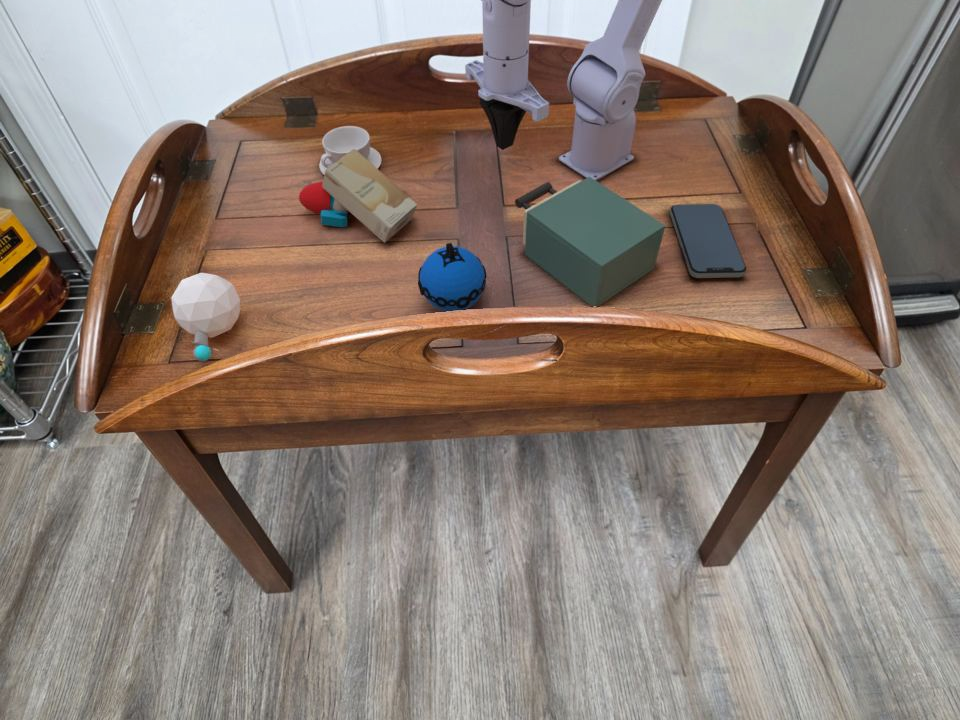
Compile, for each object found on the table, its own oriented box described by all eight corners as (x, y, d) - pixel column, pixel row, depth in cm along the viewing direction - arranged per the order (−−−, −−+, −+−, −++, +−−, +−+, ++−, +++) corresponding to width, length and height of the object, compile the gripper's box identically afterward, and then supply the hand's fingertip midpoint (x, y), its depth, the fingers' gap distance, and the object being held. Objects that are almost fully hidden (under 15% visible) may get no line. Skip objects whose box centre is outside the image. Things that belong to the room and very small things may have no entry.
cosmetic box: (391, 228, 89) (323, 170, 89) (385, 244, 93) (319, 188, 92) (419, 202, 92) (354, 145, 92) (412, 219, 96) (349, 164, 96)
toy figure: (400, 198, 102) (301, 193, 99) (402, 173, 98) (299, 167, 95) (401, 233, 97) (298, 228, 95) (403, 208, 93) (296, 203, 91)
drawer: (502, 228, 93) (502, 195, 88) (555, 198, 97) (558, 165, 92) (585, 292, 85) (590, 259, 80) (639, 257, 89) (647, 223, 84)
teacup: (355, 139, 109) (350, 114, 106) (394, 163, 105) (390, 137, 101) (307, 166, 105) (300, 140, 101) (345, 191, 100) (340, 166, 97)
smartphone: (720, 202, 95) (749, 270, 85) (717, 211, 96) (745, 280, 87) (669, 203, 95) (692, 272, 85) (666, 212, 96) (689, 281, 87)
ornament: (496, 315, 84) (496, 258, 76) (433, 334, 82) (426, 277, 74) (473, 272, 89) (471, 214, 81) (413, 289, 87) (405, 231, 79)
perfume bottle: (254, 276, 84) (254, 354, 78) (214, 306, 87) (211, 382, 81) (199, 249, 78) (195, 330, 72) (160, 282, 82) (152, 362, 75)
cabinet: (524, 254, 91) (526, 211, 85) (583, 219, 95) (589, 176, 89) (594, 309, 84) (601, 266, 78) (654, 268, 89) (665, 225, 83)
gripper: (445, 38, 83) (451, 133, 93) (520, 82, 75) (517, 180, 86) (487, 21, 85) (488, 116, 96) (564, 62, 78) (556, 159, 89)
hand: (504, 145), depth 91 cm, fingers closed
